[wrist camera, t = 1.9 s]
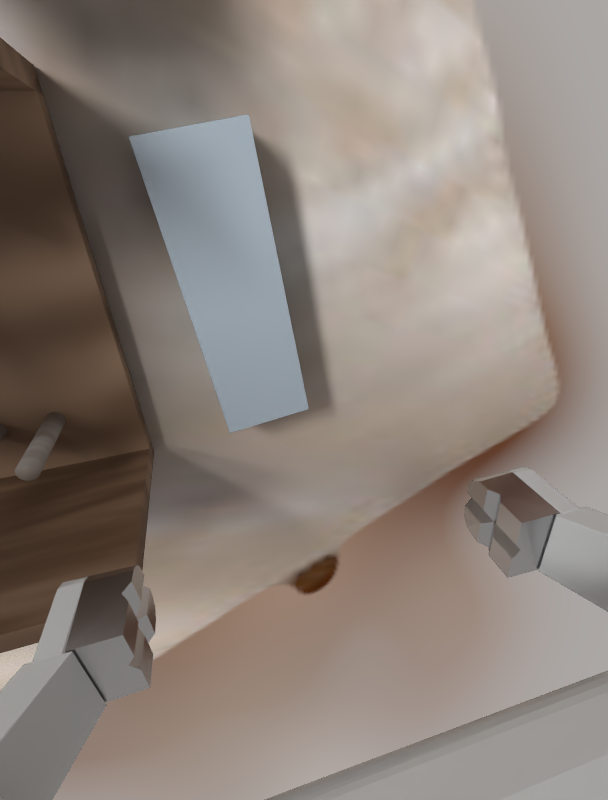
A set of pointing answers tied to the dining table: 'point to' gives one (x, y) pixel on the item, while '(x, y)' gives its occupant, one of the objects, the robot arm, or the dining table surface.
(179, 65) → the dining table surface
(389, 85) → the dining table surface
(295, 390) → the shelf board
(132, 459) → the shelf rack
